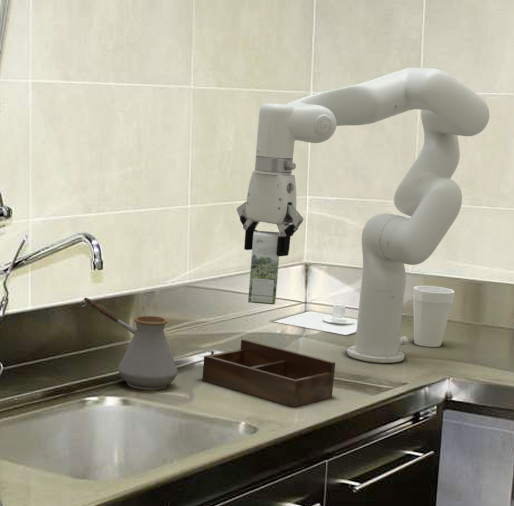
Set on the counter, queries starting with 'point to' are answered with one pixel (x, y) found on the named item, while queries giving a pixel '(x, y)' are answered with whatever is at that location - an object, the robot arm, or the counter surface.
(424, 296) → the foam cup
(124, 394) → the counter surface
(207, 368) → the compartment tray
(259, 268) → the tea packet
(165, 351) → the coffee pot
